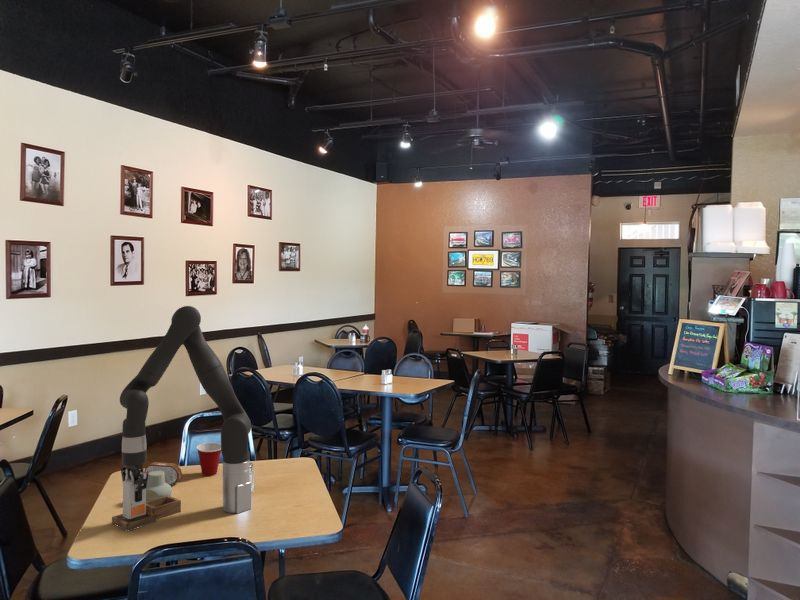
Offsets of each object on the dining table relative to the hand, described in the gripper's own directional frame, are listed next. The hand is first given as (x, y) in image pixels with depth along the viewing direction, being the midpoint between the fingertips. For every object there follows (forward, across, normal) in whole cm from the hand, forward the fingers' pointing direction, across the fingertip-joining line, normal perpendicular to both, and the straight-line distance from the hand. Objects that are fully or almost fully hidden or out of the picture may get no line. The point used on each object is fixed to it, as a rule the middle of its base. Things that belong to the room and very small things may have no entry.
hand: (134, 499), depth 199 cm
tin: (+8, +28, -27) cm, 40 cm away
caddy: (+8, 0, -6) cm, 10 cm away
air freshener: (+8, +14, -16) cm, 23 cm away
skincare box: (+6, 0, 0) cm, 6 cm away
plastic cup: (+8, +24, -46) cm, 52 cm away
